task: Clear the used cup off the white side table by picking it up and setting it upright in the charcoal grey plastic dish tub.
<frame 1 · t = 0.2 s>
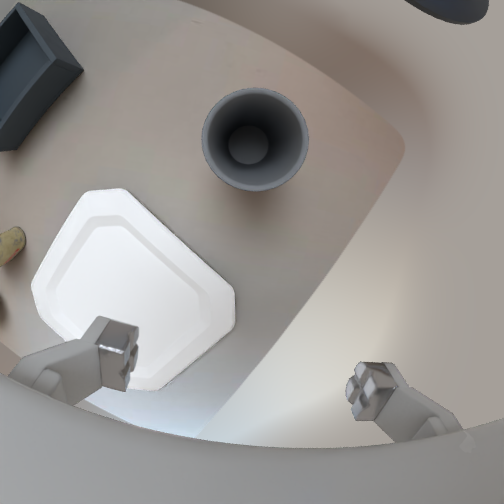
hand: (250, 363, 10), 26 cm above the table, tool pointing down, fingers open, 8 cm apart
cup: (248, 144, 32), on the table
dish tub: (26, 78, 27), on the table
plate: (125, 299, 38), on the table
lighter: (12, 242, 34), on the table
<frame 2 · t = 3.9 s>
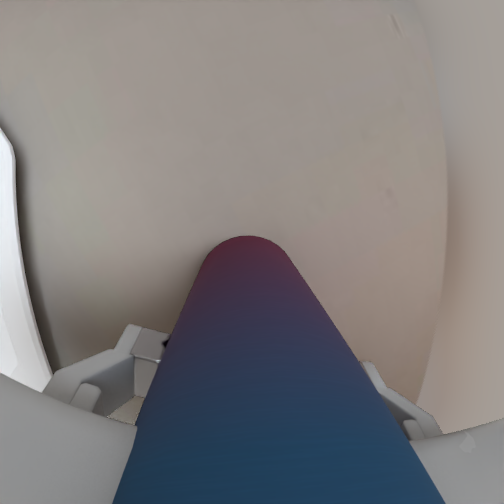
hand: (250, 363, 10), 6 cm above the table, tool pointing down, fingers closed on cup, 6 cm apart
cup: (247, 280, 16), on the table, touching gripper
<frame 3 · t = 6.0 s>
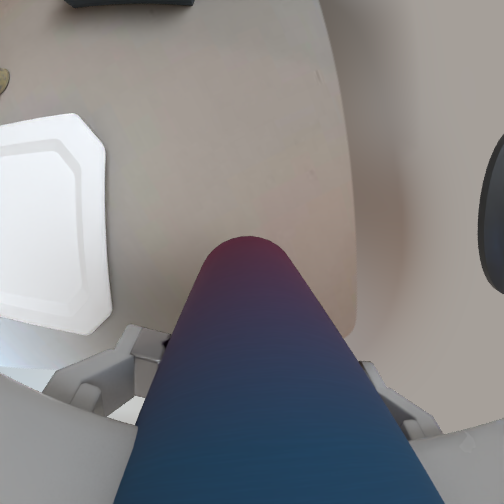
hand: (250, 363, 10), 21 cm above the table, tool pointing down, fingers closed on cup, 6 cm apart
cup: (247, 280, 16), point 14 cm above the table, touching gripper
plate: (26, 226, 28), on the table
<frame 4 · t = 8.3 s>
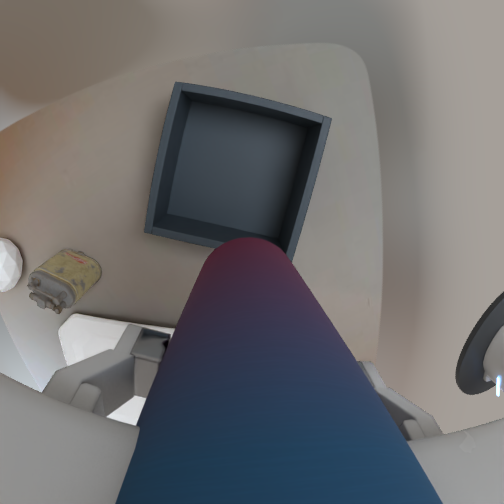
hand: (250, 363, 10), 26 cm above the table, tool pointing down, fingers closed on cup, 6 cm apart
geometric ball: (14, 255, 35), on the table
cup: (247, 281, 16), point 19 cm above the table, touching gripper
dish tub: (236, 168, 33), on the table
plate: (140, 379, 43), on the table
lighter: (80, 263, 36), on the table
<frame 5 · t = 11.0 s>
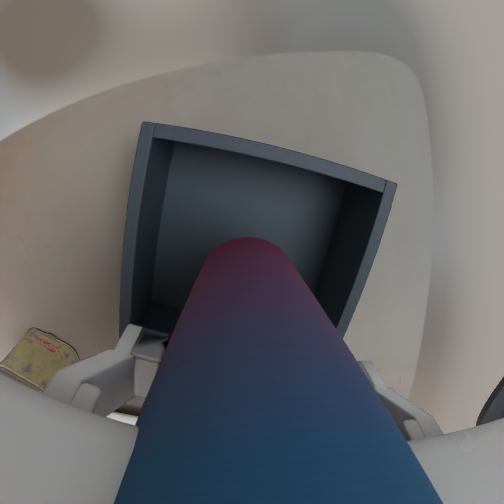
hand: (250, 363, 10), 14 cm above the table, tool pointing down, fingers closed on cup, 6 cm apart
cup: (247, 281, 16), point 8 cm above the table, touching gripper
dish tub: (243, 240, 24), on the table
lighter: (53, 345, 27), on the table
when the fingers open (7 cm above the table, at t = 13.2 s): cup stays where it is, resting on dish tub.
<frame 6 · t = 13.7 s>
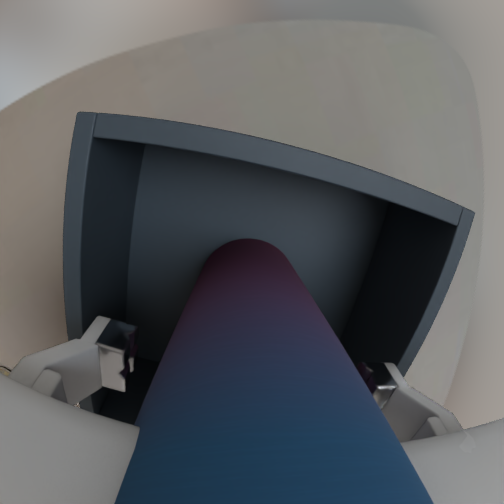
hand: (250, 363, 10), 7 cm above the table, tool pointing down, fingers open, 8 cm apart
cup: (247, 281, 16), point 1 cm above the table, touching dish tub
dish tub: (245, 279, 17), on the table
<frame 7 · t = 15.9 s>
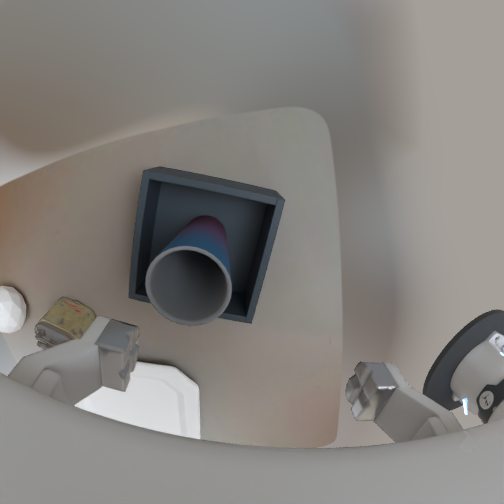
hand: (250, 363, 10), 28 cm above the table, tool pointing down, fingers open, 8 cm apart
geometric ball: (18, 299, 40), on the table
cup: (205, 234, 37), point 1 cm above the table, touching dish tub
dish tub: (205, 234, 38), on the table
plate: (134, 402, 47), on the table
lighter: (77, 309, 41), on the table
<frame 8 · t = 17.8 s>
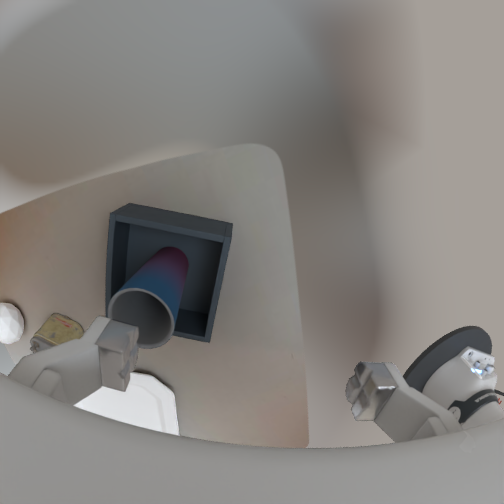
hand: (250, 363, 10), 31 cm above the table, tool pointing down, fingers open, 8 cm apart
geometric ball: (16, 313, 44), on the table
cup: (171, 263, 41), point 1 cm above the table, touching dish tub
dish tub: (171, 262, 42), on the table
plate: (120, 405, 51), on the table
lighter: (67, 323, 45), on the table
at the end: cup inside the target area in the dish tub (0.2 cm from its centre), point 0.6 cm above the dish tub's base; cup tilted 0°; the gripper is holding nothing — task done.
